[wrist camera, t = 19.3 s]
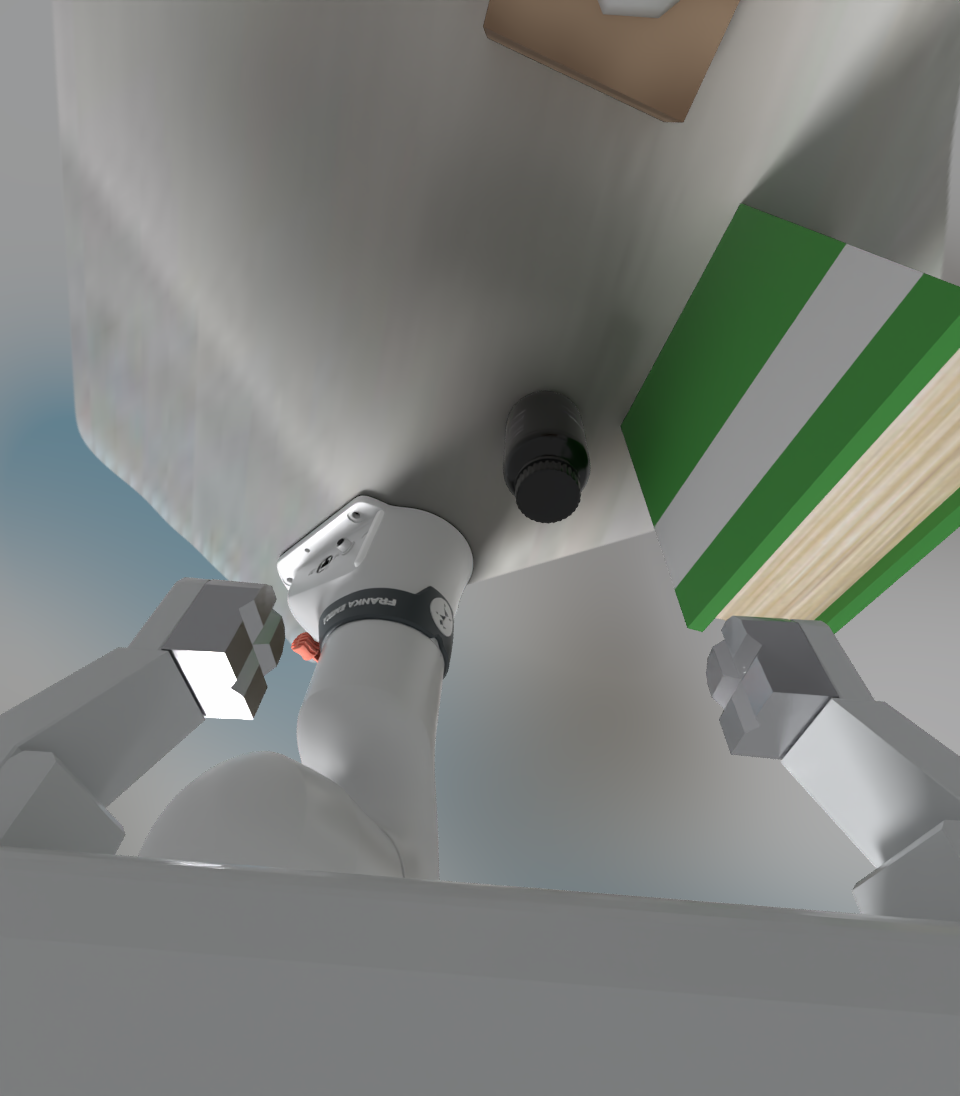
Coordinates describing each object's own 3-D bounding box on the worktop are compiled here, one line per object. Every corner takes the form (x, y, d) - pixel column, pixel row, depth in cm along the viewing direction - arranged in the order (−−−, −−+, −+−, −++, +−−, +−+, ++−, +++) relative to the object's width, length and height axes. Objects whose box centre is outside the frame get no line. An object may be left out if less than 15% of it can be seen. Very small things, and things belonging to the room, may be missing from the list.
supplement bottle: (595, 403, 45) (614, 476, 36) (561, 467, 50) (571, 546, 40) (522, 376, 44) (523, 443, 35) (494, 443, 48) (488, 519, 39)
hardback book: (694, 450, 48) (804, 659, 29) (620, 426, 47) (687, 627, 28) (832, 241, 37) (1147, 365, 18) (740, 203, 36) (978, 293, 17)
